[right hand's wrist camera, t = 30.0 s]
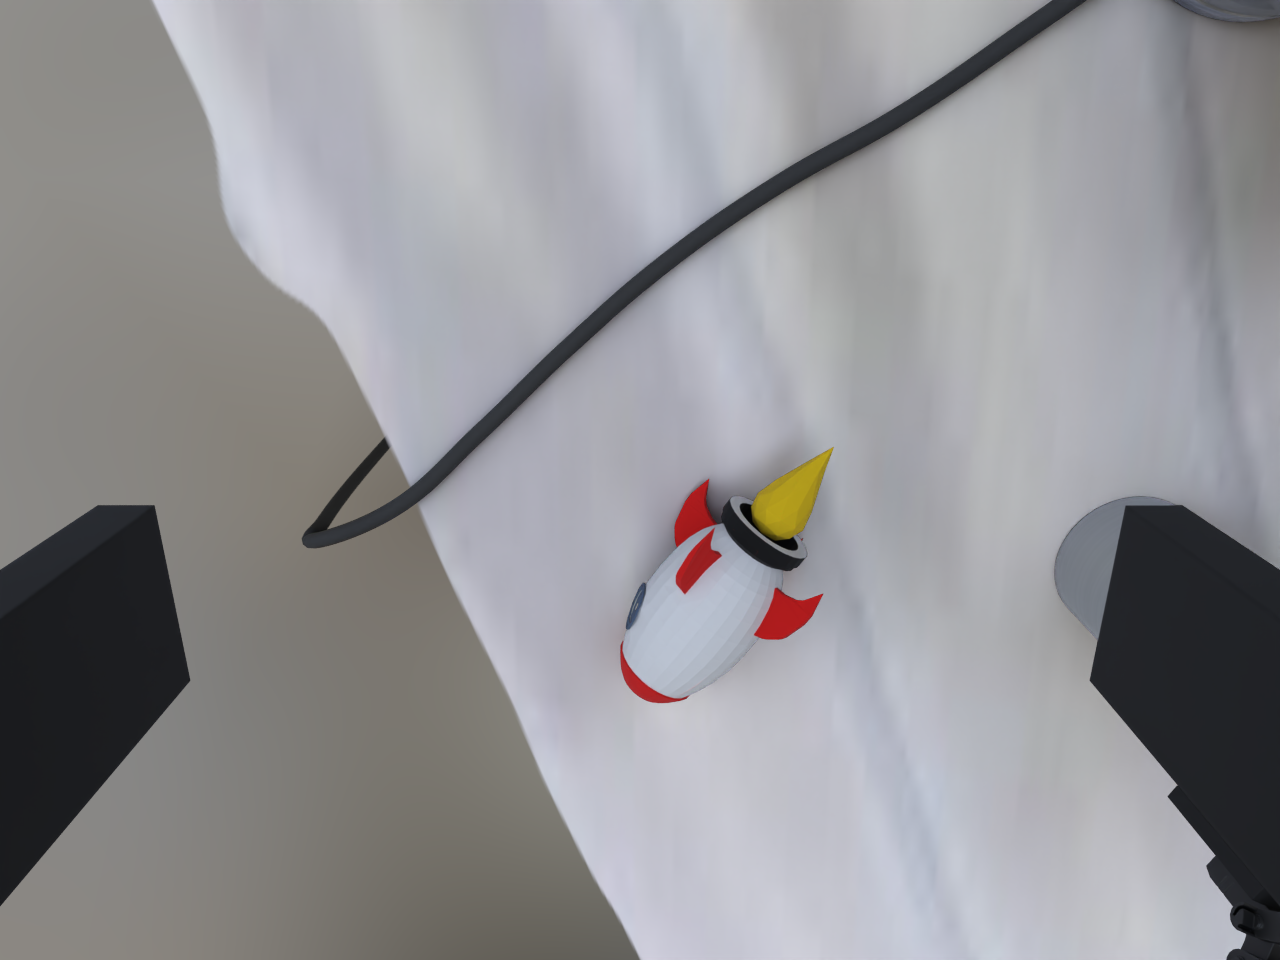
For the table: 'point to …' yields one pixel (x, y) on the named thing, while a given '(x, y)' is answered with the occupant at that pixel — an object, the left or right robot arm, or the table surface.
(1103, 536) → the canister
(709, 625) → the toy rocket
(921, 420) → the table surface
